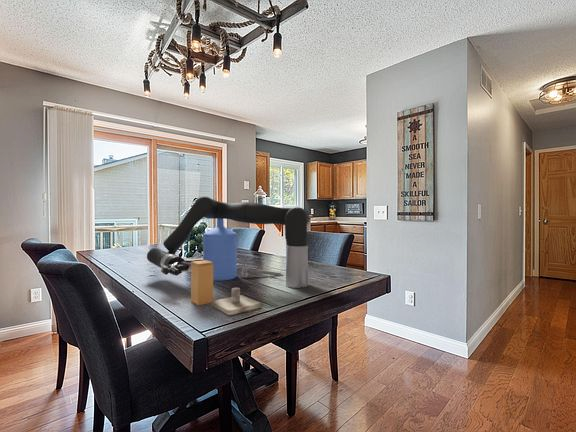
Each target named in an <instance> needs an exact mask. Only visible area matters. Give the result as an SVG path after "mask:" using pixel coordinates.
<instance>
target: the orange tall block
mask: <svg viewBox="0 0 576 432" xmlns="http://www.w3.org/2000/svg"><path fill="white" fill-rule="evenodd" d="M190 263H191V272H190V302H191V303H193V304H195V305H196V306H202V305H205V304H211V301H214V281H213V262H211V261H207V260H203V259H202V260H196V261H195V260H194V261H190Z"/></svg>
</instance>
